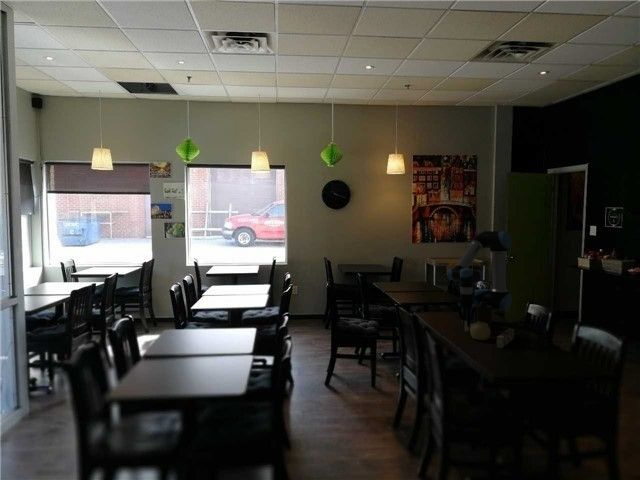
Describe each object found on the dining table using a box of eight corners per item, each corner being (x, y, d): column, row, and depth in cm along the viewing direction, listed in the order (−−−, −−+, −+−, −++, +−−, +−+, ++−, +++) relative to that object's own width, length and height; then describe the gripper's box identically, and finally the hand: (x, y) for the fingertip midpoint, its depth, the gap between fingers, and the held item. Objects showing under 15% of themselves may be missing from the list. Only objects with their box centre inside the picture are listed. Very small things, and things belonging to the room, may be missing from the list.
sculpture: (485, 336, 288) (485, 319, 288) (493, 341, 276) (493, 323, 276) (467, 336, 288) (467, 319, 287) (474, 342, 276) (474, 324, 275)
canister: (489, 330, 302) (489, 300, 301) (493, 334, 292) (494, 303, 291) (472, 330, 303) (472, 300, 302) (476, 334, 293) (476, 303, 292)
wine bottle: (484, 328, 308) (484, 283, 307) (464, 328, 309) (464, 284, 307) (478, 323, 322) (478, 281, 320) (459, 323, 322) (459, 281, 321)
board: (508, 338, 283) (508, 327, 283) (513, 338, 281) (513, 328, 281) (496, 347, 264) (496, 336, 264) (502, 348, 262) (502, 337, 262)
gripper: (454, 293, 287) (454, 330, 288) (474, 295, 279) (474, 333, 280) (458, 291, 293) (458, 328, 294) (479, 293, 285) (478, 331, 286)
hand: (466, 330), depth 287 cm, fingers closed
